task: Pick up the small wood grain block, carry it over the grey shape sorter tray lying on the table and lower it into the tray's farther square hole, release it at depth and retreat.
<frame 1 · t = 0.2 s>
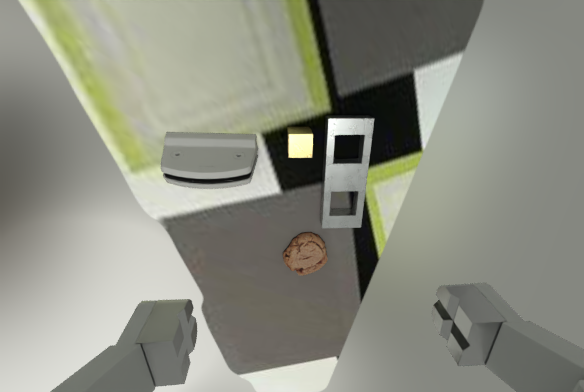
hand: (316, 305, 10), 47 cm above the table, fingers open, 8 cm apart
cookie: (304, 250, 67), on the table
grey shape sorter tray: (342, 172, 59), on the table
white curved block: (213, 153, 56), on the table
wood grain block: (298, 137, 55), on the table
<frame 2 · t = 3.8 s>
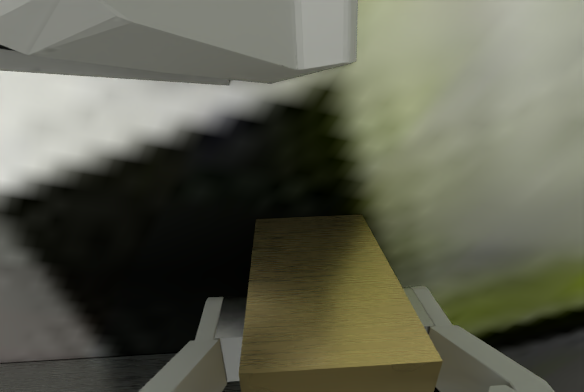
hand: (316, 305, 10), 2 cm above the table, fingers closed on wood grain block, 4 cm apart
wood grain block: (309, 259, 12), on the table, touching gripper
when the fingers open (4 cm above the table, at t = 8.2 s): wood grain block drops 1 cm, resting in grey shape sorter tray.
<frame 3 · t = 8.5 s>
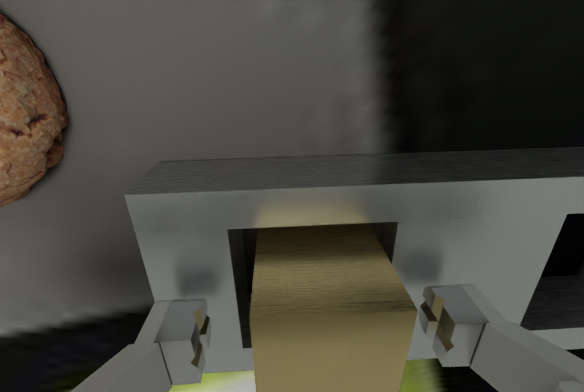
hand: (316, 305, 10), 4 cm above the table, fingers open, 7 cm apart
grey shape sorter tray: (426, 237, 13), on the table
wood grain block: (307, 242, 13), resting in grey shape sorter tray
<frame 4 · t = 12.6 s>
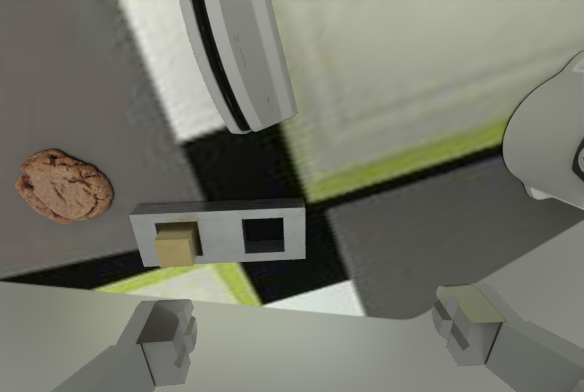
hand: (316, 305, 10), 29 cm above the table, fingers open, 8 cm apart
cookie: (72, 184, 39), on the table
grey shape sorter tray: (225, 226, 42), on the table
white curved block: (246, 50, 33), on the table
wood grain block: (186, 227, 42), resting in grey shape sorter tray
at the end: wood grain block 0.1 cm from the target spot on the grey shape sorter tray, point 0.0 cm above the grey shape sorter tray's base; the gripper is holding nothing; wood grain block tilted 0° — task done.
